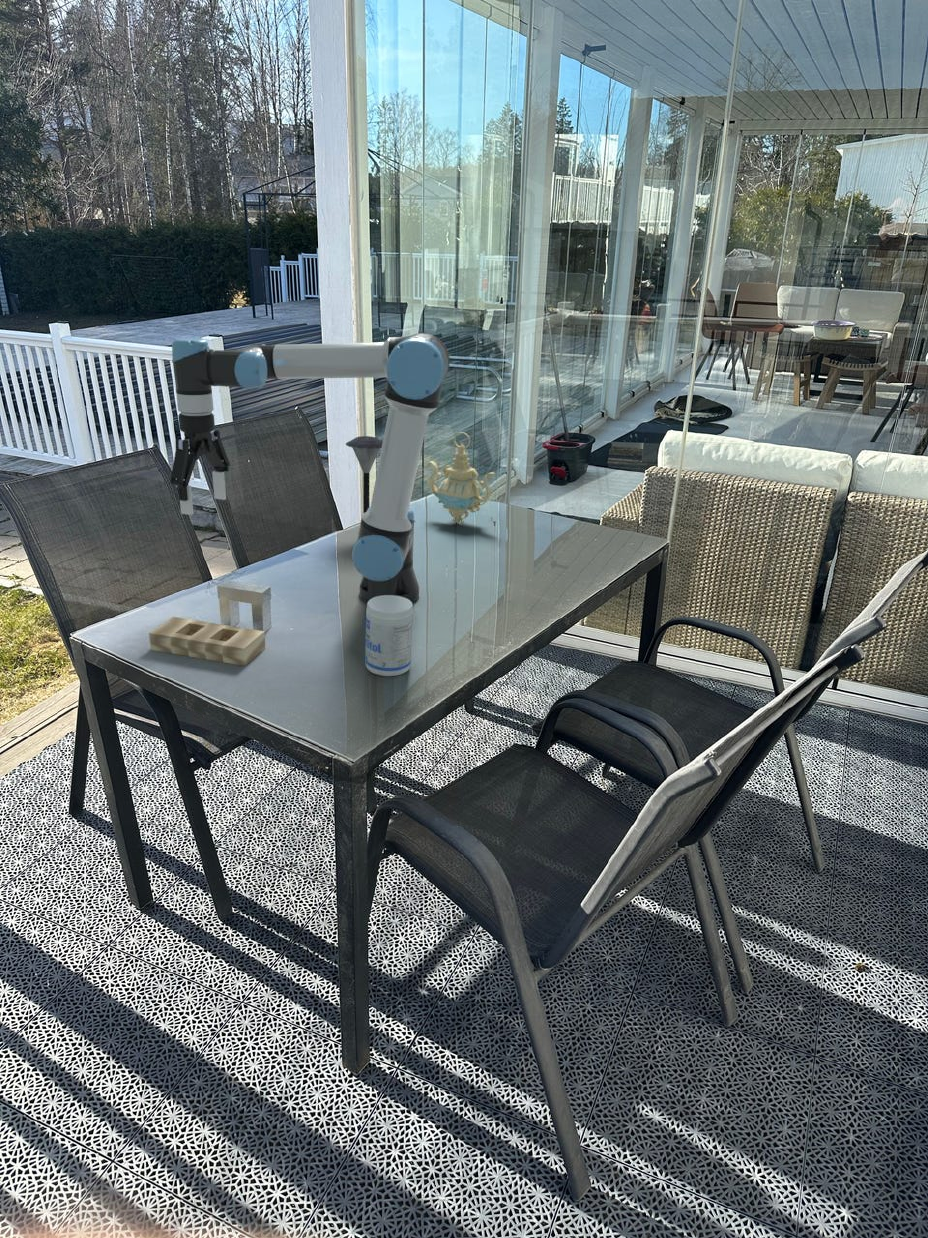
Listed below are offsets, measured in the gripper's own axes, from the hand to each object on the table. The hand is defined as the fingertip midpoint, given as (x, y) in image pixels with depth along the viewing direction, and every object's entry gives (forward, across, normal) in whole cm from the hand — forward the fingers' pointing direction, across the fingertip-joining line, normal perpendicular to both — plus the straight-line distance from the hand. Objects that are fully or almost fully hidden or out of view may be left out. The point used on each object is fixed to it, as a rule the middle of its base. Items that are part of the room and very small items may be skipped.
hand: (204, 506), depth 189 cm
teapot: (+25, -86, +36) cm, 97 cm away
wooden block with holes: (+24, +22, +13) cm, 35 cm away
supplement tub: (+25, +16, +52) cm, 59 cm away
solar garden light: (+25, -63, +14) cm, 69 cm away
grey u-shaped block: (+24, +9, +14) cm, 30 cm away
